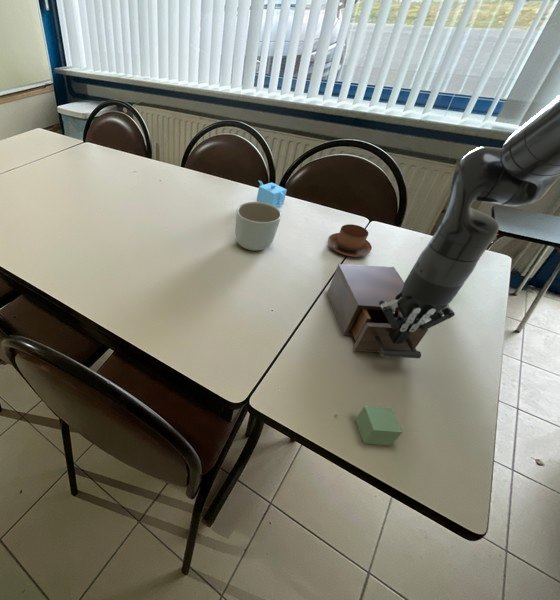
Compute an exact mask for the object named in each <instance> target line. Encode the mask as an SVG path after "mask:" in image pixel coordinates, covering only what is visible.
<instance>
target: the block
mask: <svg viewBox="0 0 560 600" xmlns="http://www.w3.org/2000/svg"><path fill="white" fill-rule="evenodd" d="M355 423H356V425H357V429H358V431H359V432H358V433H359V434H360V437H361V440H362V443H363V444H365V445H378V446H390V447H391V446H392V445H393V444H394V443H395V442H396V440H397V439H398V438H399V437H400V436H401V434H402V433H403V430H402V428H401V426H400V423H399V421H398V419H397V417H396V415H395V412H394V410H393V408H392V407H386V406H373V405H372V406H371V405H364V406H363V407H362V409H361V410H360V411H359V413H358V415H357V416H356V418H355Z"/></svg>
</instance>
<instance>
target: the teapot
mask: <svg viewBox="0 0 560 600" xmlns="http://www.w3.org/2000/svg"><path fill="white" fill-rule="evenodd" d="M258 183H259V186H258V189H257V195H256V201H255V202H262V203H267V204H270V205H272V206H274V207H276V208H279V207H281V206H283V205H284V203H285V200H286V196H287V191H288V190H287V188H284V187H283V186H280V185H278V184H276V183H274V182H272V181H271V182H268V183H266V184H265V183H263V181H262V180H258Z"/></svg>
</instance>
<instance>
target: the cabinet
mask: <svg viewBox="0 0 560 600" xmlns="http://www.w3.org/2000/svg"><path fill="white" fill-rule="evenodd" d="M404 282H405V281H404V280H403V278H402V277H401V275H400V273H398V271H397V270H396V268H395V266H388V265H387V266H385V265H366V264H348V263H347V264H345V263H338V264H337V266H336V269H335V271H334V274H333V276H332V279H331V282H330V285H329V287H328V289H327V292H326V295H327V298H328V300H329V303H330V305H331V308H332V311H333V313H334V316H335V318H336V320H337V323H338V326H339V328H340V331H341V333H342V335H343V337H344V336H345V337H354V336H353V334H352V331H351V328H352V326H353V324H354V322H355V320H356V318H357V316H358V314H359V312H360V310H361V309H376V310H382V308H381V306H380V304H379V302H380V301H382V300H385V301H386V302H389V301H392V300H394V299H395V297H396V295H397V294H399V293H400V292H401V291H402V290H403V286H404ZM398 310H399V308H398V306H397V307H396V310H395V311H398Z"/></svg>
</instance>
